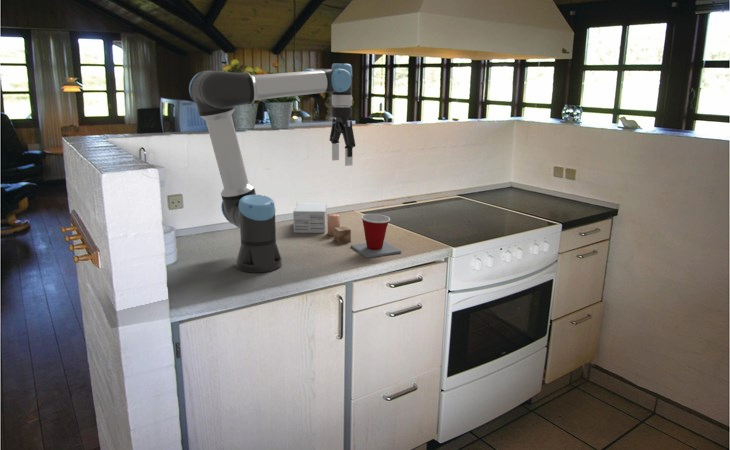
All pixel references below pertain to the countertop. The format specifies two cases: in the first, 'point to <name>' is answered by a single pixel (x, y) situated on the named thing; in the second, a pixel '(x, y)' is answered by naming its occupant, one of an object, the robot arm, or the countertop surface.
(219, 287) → the countertop surface
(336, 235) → the walnut block
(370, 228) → the plastic cup
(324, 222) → the supplement box
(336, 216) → the pink cylinder
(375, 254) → the mat
